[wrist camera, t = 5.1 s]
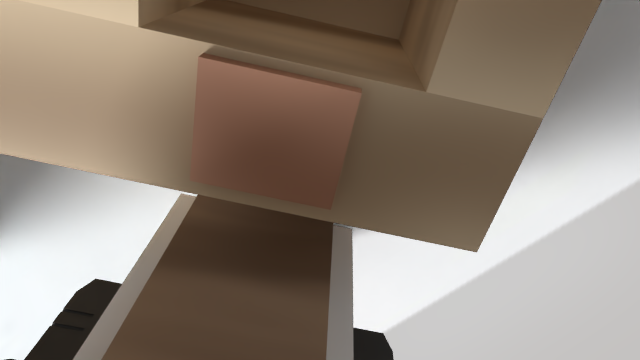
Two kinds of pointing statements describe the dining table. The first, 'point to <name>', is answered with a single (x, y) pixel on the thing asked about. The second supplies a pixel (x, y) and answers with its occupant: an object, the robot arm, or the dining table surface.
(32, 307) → the dining table surface
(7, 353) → the dining table surface
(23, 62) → the box
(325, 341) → the plug
